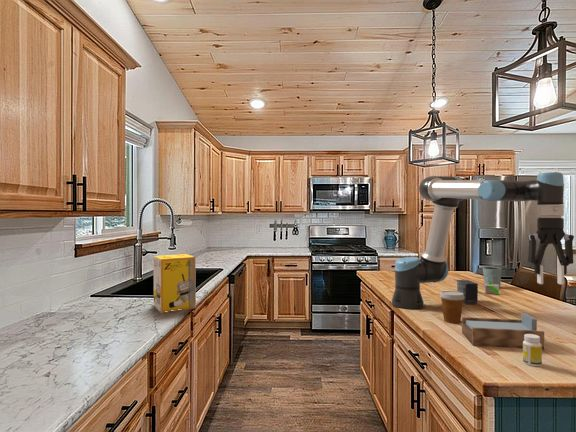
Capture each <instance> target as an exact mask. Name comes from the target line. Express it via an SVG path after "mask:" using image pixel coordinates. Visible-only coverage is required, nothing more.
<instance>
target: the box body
mask: <svg viewBox="0 0 576 432" xmlns="http://www.w3.org/2000/svg"><path fill="white" fill-rule="evenodd" d="M466 320H469V321H490V322H512V323H522V319H512V318H511V319H510V318H489V317H488V318H487V317H469V316H468V317H467V316H461V333H462V335H463V337H465V338H466V339H467V341H469V343H470V344H471V345H472V346H474V347H489V348H490V347H491V348H506V349H520V350H521V349H522V350H523V341H524V335H525V334H534V335H538V336H539V337H540V343H541V345H542V351H543V350H544V351H545V331H544V330H537V331H535V330H515V329H495V328H475V327H472V329H471V328H470V327H469V326H468V325H467V324H466Z"/></svg>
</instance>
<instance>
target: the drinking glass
mask: <svg viewBox="0 0 576 432" xmlns="http://www.w3.org/2000/svg"><path fill="white" fill-rule="evenodd" d="M502 269H503V268H502V267H497V266H495V267H494V266H484V267H482V272H483V273H482V274H483V287H484V288H485V283H487V284H489V281H492V284H499V290H500V289H501V281H502V271H503V270H502Z"/></svg>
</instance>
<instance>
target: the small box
mask: <svg viewBox="0 0 576 432" xmlns="http://www.w3.org/2000/svg"><path fill="white" fill-rule="evenodd" d="M478 285H479V284H478V283H477V282H475V281H471V280H469V279H467V280H466V279H457V280H456V287H457V288H456V292H461V293H463V294H464V297H465V298H464V299H463V304H465V305H478V301H479V300H478V299H479V298H478V296H479V295H478V294H479V293H478V291H479V290H478V289H479V286H478Z"/></svg>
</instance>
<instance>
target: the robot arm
mask: <svg viewBox="0 0 576 432" xmlns="http://www.w3.org/2000/svg"><path fill="white" fill-rule="evenodd" d="M564 189H565V182H564V173H563V174H562V173H561V172H559V171H555V172H553V171H551V172H549V171H548V172H542V173H541V172H540V173H538V174H537V176H536V179H532V180H505V179H504V180H502V179H488V180H487V179H462V178H461V177H458V176H457V177H456V176H453V175H447V176H444V175H443V176H442V175H440V176H439V175H437V176H436V175H431V176H427V177H425V178H423V179H422V181H420V183H419V186H418V191H419V195H420V197H422V198H423V199H424V200H426V201H431V203H432V204H433V206H434V208H433V213H432V218H431V221H430V227H429V232H428V237H427V241H426V246H425V251H424V252H422V253H421V254H420V257H417V256H406V257H401V258H398V259H396V261H395V262H394V263H395V265H394V275H395V276H394V280H395V281H394V291H393V292H394V293H393V295H392V297H391V306H393V307H396V308H399V309H408V310H417V309H422V308H424V306H425V302H424V298H423V296H422V293H421V284H426V283H427V284H428V283H429V284H430V283H439V282H442V281H444V280H445V279H446V278H447V277H448V275H449V270H450V269H449V265H448V262H447V261H446V259H447V258H446V257H445V256H444V253H445V250H446V244H447V241H448V236H449V231H450V227H451V223H452V219H453V218H452V217H453V214H454V210H456V209H457V208H459V203H460V202H462V201H463V200H477V201H478V200H479V201H488V202H514V203H515V202H517V203H519V202H530V201H532V202H533V201H536V203H537V206H536V207H537V208H536V209H537V210H536V211H537V213H536V215H537V216H538V218H537V220H536V221H537V224H536V225H537V226H536V227H537V230H536V233H532V234H528V235H527V239H528V257H527V261H528V263H530V264H533V265H534V274H536V282H537V284H539V285H544V265H542V262H543V258H544V255H545V252H546V249H547V247H548V246H549V245H553V247H554V250H555V253H556V255H557V258H558V261H559V262H558V263H559V264H557V265H556V266H557V272H556V273H557V278H556V279H557V284H558V285H561V286H564V285H565V276H566V275H567V274H568V271H567V270H568V266H569V265H573V264H574V247H573V241H574V238H575V236H574V235H573V234H567V233H566V232H565V231H564V229H565V224H564V223H565V219H564V215H565V214H564V213H565V212H564V211H565V210H564V209H565V208H564V207H565V204H564V193H565V192H564V191H565V190H564ZM537 239H539V243H538V249H536V248H537ZM562 239H563V240H564V249H563V244H562Z"/></svg>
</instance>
